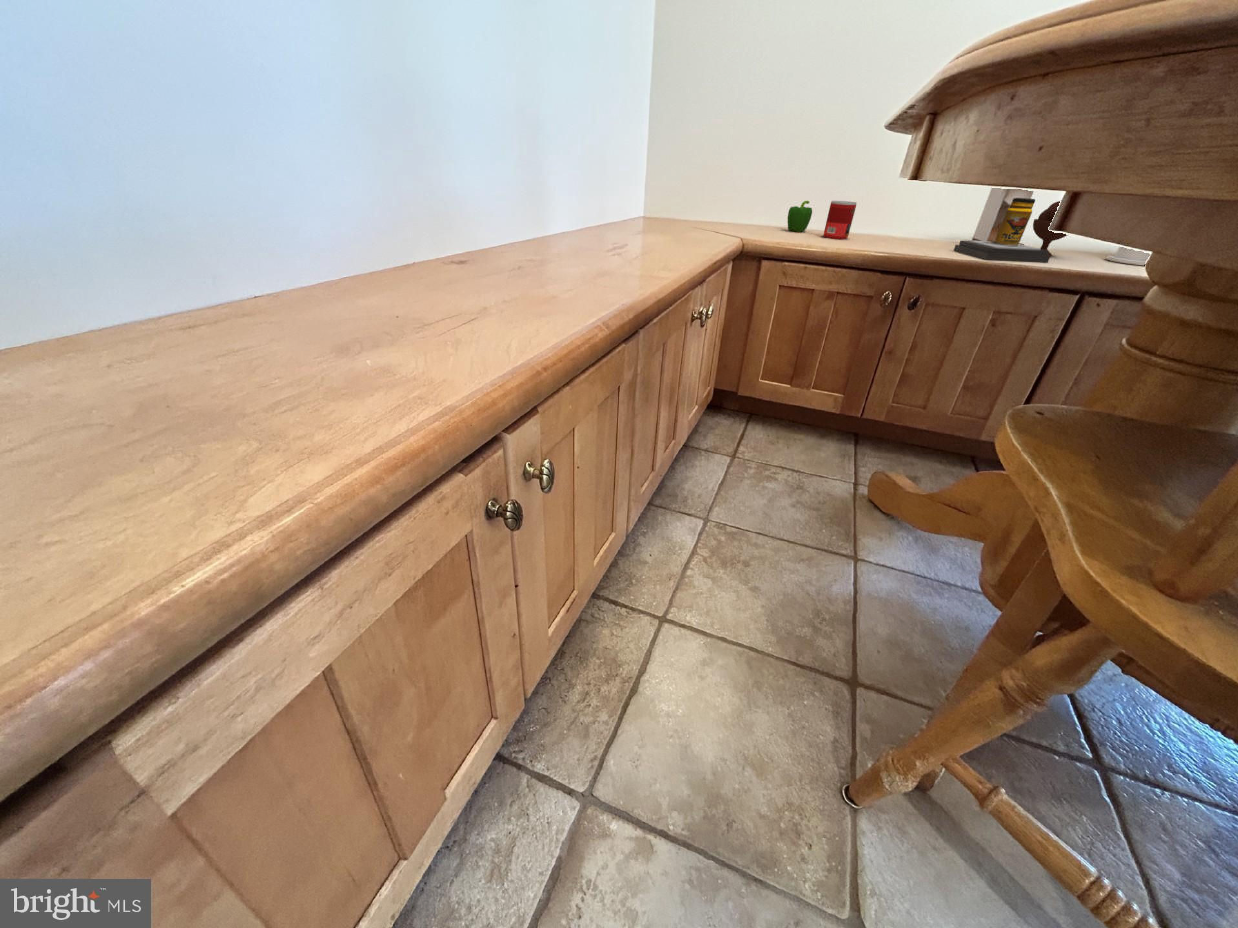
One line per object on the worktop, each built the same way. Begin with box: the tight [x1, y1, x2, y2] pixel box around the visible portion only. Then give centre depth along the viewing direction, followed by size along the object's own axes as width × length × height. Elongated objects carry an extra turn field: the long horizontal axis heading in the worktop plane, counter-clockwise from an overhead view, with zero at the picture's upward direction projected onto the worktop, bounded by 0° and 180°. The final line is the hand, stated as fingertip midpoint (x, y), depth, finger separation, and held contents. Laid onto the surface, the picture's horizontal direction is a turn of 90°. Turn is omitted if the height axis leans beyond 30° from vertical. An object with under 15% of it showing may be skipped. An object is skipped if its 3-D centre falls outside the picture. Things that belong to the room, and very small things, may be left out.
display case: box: [971, 187, 1034, 245], centre depth 156 cm, size 11×11×35 cm
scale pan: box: [967, 239, 1041, 250], centre depth 146 cm, size 13×13×1 cm
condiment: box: [982, 198, 1036, 246], centre depth 144 cm, size 7×8×12 cm
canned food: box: [823, 200, 858, 240], centre depth 167 cm, size 8×8×11 cm
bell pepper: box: [787, 200, 813, 233], centre depth 179 cm, size 8×8×10 cm
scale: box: [953, 240, 1052, 264], centre depth 147 cm, size 18×16×3 cm
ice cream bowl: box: [1032, 200, 1068, 257], centre depth 150 cm, size 11×11×15 cm
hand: (1096, 146), depth 133 cm, fingers open, 9 cm apart
